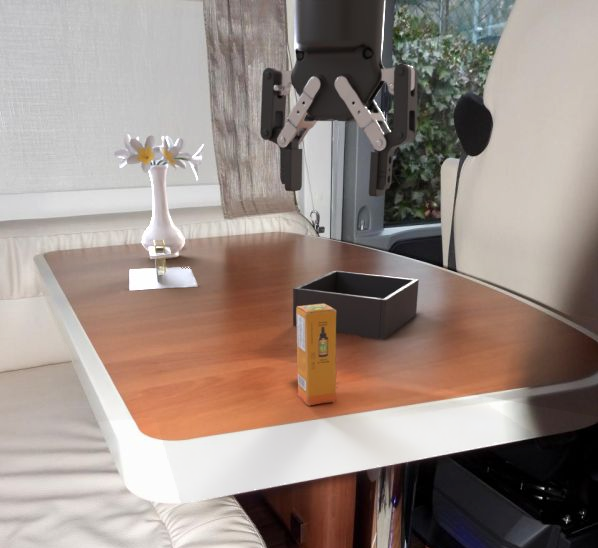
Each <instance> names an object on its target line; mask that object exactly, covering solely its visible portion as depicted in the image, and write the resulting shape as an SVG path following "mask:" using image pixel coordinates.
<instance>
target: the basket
mask: <svg viewBox="0 0 598 548" xmlns="http://www.w3.org/2000/svg"><path fill="white" fill-rule="evenodd" d="M419 281H420V280H419V279H416V278H409V277H407V278H406V277H397V276H388V275H381V274H380V275H379V274H371V273H362V272H361V273H360V272H353V271H352V272H351V271H343V270H333V271H330V272H328V273H326V274H323V275H321V276H319V277H316V278H314V279H312V280H310V281H308V282H304V283H302V284H300V285H298V286H296V287H294V288H292V326H295V327H297V320H296V308H297V306H306V305H315V304H326V305H328V306H330V307H332V308H333V309H335V310H336V333H341V334H347V335H354V336H360V337H365V338H366V337H367V338H373V339H379V340H385V339H386V338H387V337H389V336H390V335H392V334H393V333H394V332H396V331H397V330H398V329H399V328H400V327H402V326H403V325H405V324H406V323H408V321H410V320H411V319H412V318H413V317H415V316H417V307H418V297H419V296H418V295H419Z"/></svg>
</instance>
